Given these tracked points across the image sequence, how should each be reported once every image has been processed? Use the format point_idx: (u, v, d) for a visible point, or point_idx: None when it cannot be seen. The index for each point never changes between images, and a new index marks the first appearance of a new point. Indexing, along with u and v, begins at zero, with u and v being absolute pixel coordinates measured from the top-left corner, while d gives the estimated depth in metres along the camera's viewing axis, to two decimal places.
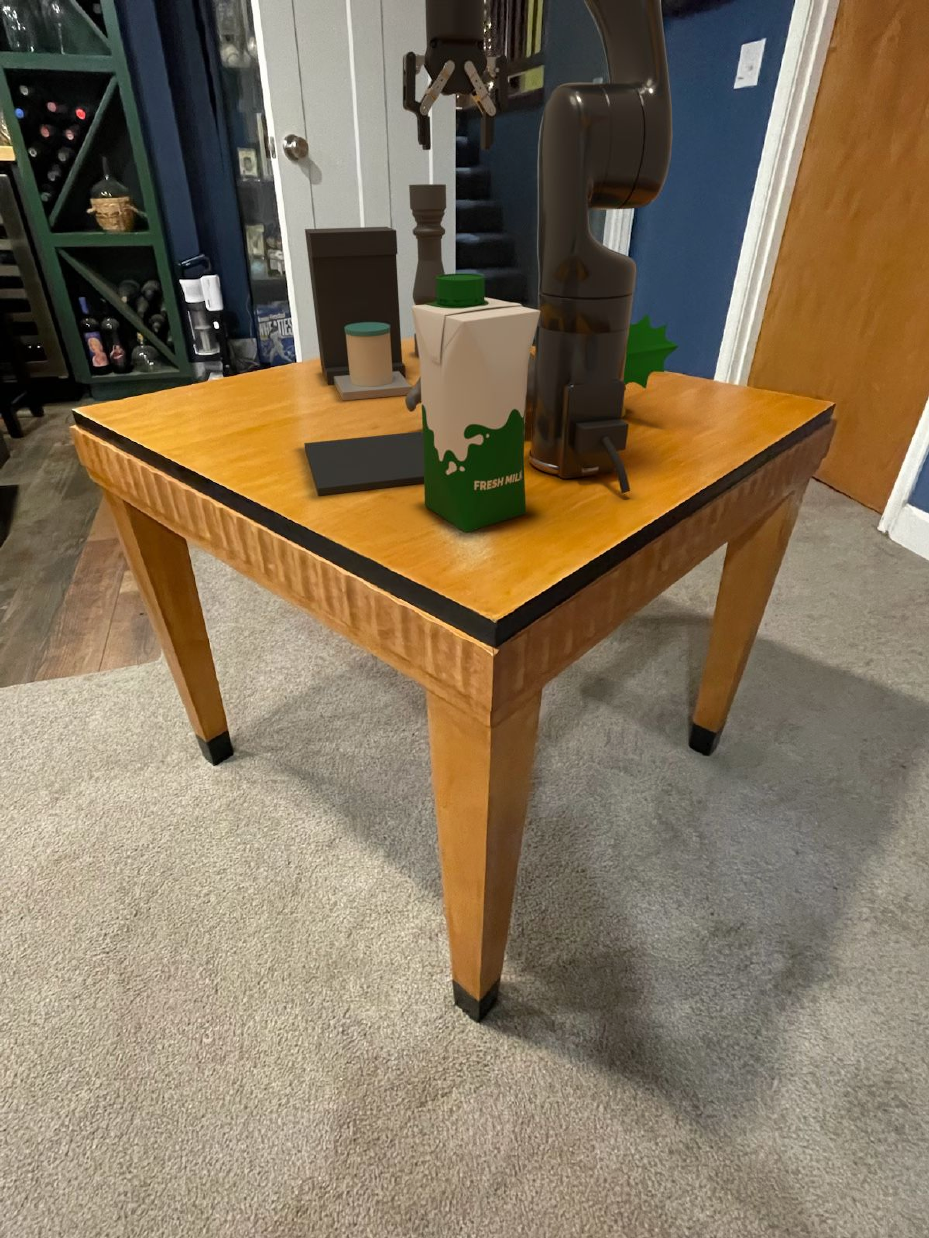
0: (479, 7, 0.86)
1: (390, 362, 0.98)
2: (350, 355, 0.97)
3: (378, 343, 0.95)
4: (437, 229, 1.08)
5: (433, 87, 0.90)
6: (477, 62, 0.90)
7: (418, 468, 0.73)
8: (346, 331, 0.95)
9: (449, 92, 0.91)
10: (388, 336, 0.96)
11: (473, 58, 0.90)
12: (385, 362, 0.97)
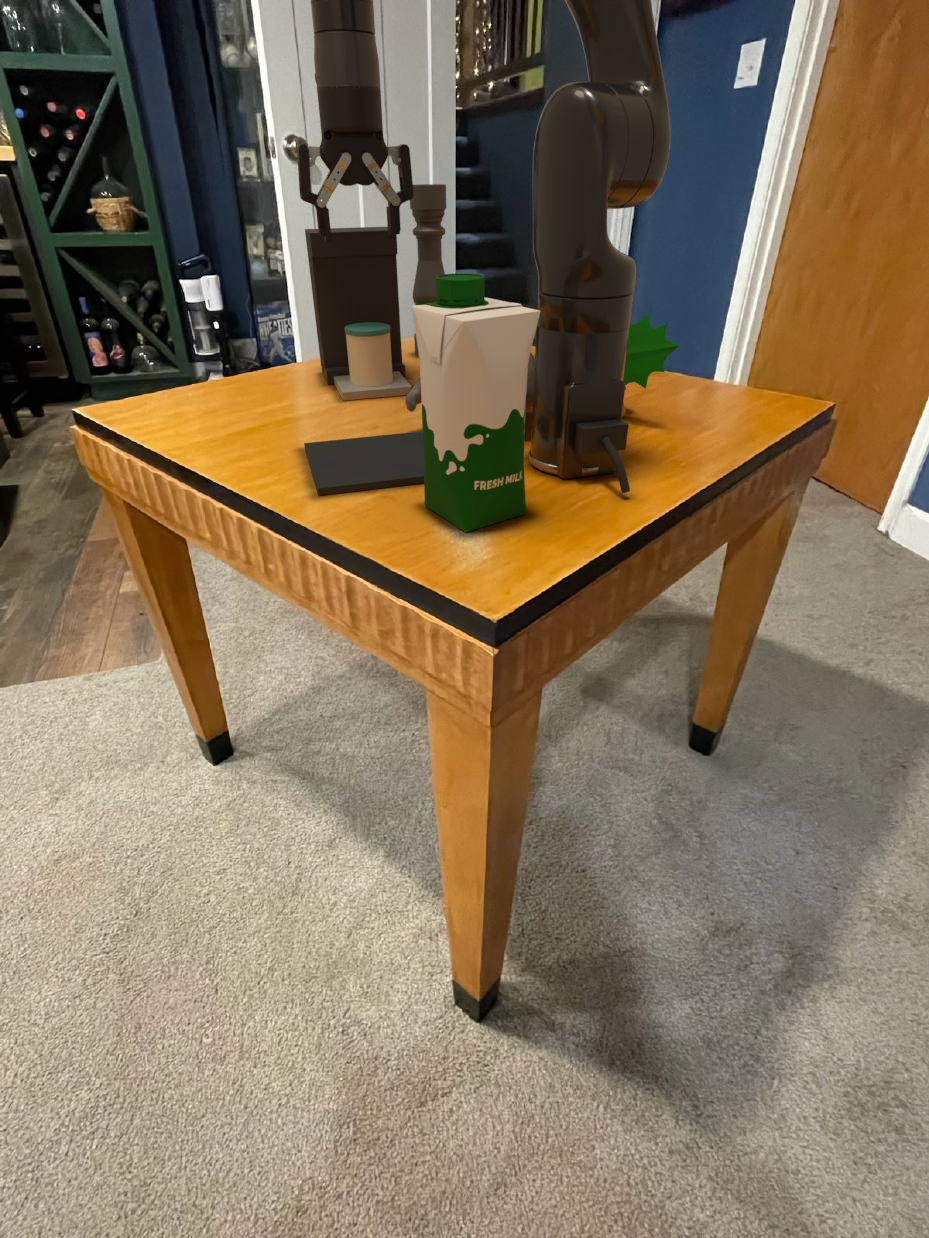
0: (373, 99, 0.81)
1: (390, 362, 0.98)
2: (350, 355, 0.97)
3: (378, 343, 0.95)
4: (437, 229, 1.08)
5: (329, 179, 0.85)
6: (377, 152, 0.85)
7: (418, 468, 0.73)
8: (346, 331, 0.95)
9: (348, 183, 0.86)
10: (388, 336, 0.96)
11: (372, 149, 0.85)
12: (385, 362, 0.97)
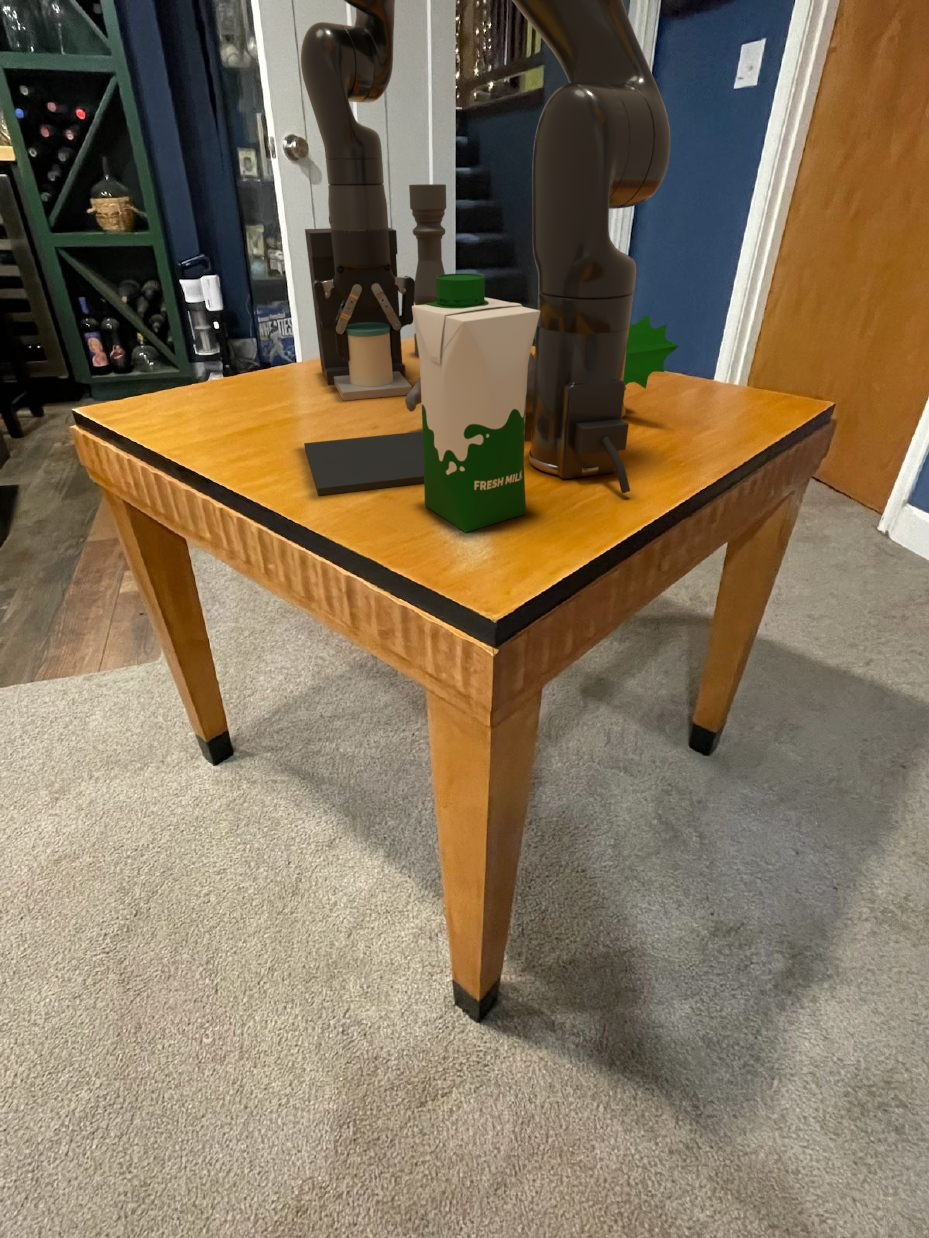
0: (382, 239, 0.89)
1: (390, 362, 0.98)
2: (350, 355, 0.97)
3: (378, 343, 0.95)
4: (437, 229, 1.08)
5: (344, 309, 0.93)
6: (385, 282, 0.93)
7: (418, 468, 0.73)
8: (346, 331, 0.95)
9: (358, 308, 0.94)
10: (388, 336, 0.96)
11: (380, 279, 0.93)
12: (385, 362, 0.97)
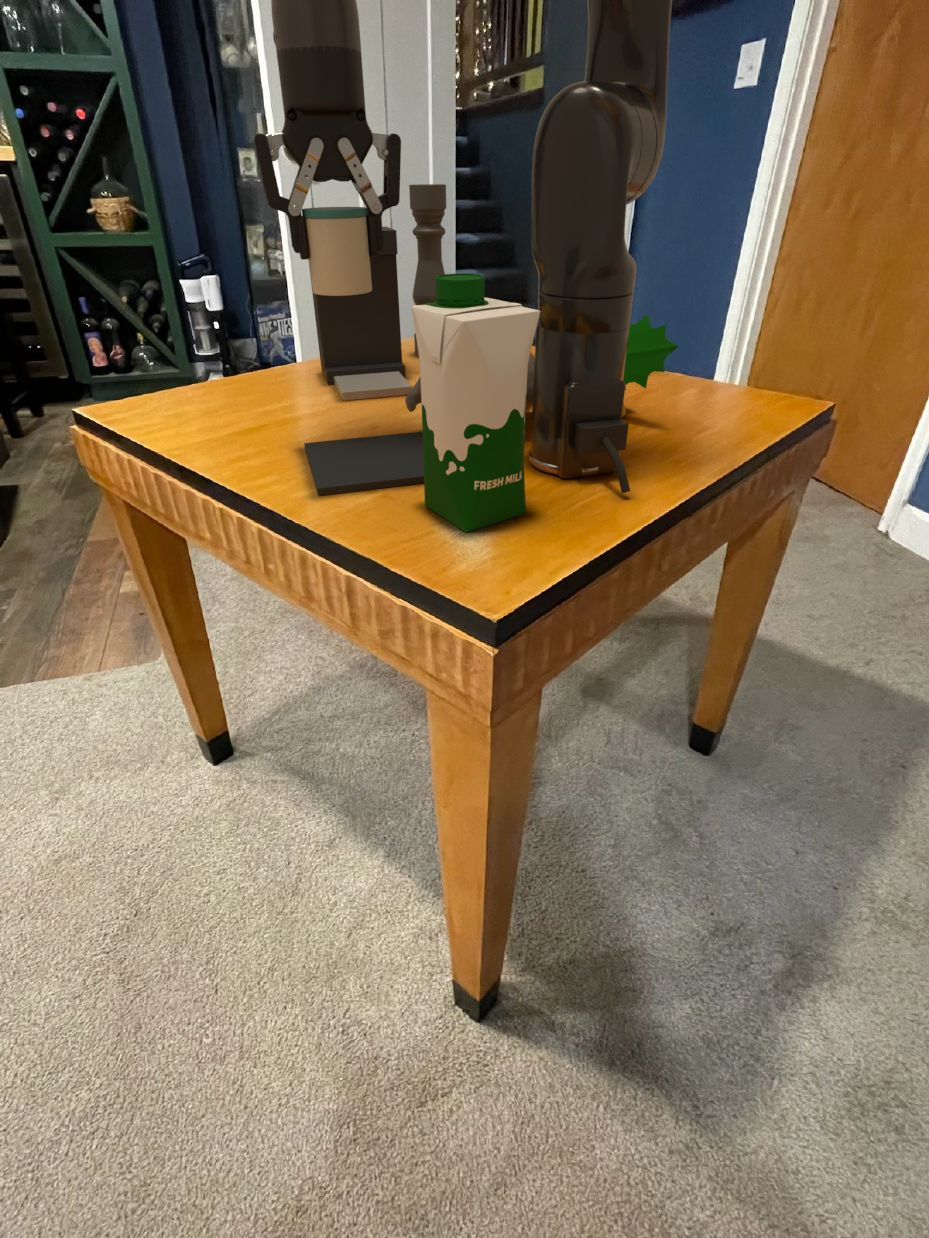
0: (351, 65, 0.60)
1: (367, 262, 0.70)
2: (310, 250, 0.69)
3: (349, 230, 0.67)
4: (437, 229, 1.08)
5: (300, 178, 0.65)
6: (358, 138, 0.65)
7: (418, 468, 0.73)
8: (304, 213, 0.67)
9: (320, 179, 0.66)
10: (364, 222, 0.68)
11: (351, 133, 0.64)
12: (359, 259, 0.69)
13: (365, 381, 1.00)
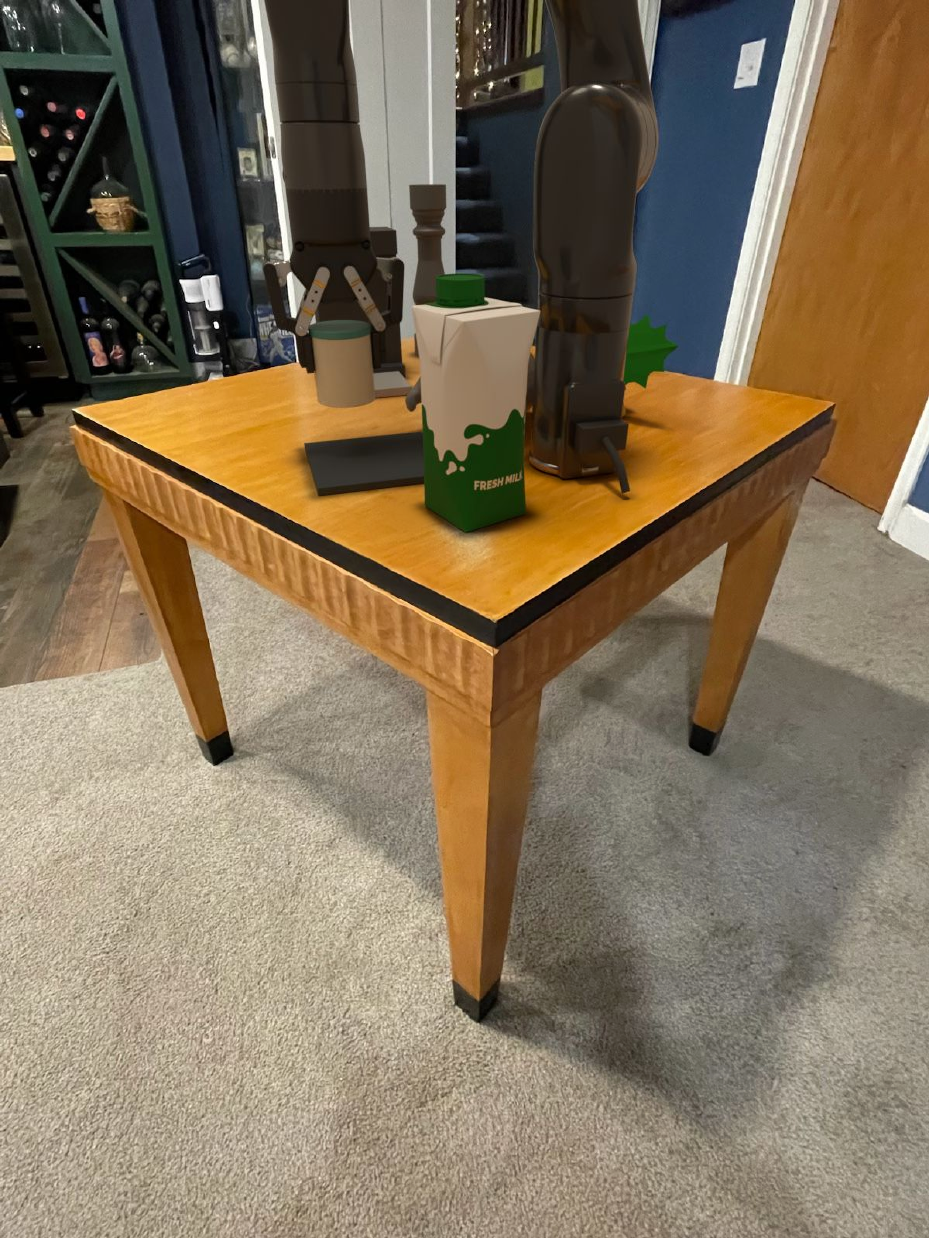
0: (358, 203, 0.63)
1: (371, 374, 0.73)
2: (315, 365, 0.71)
3: (353, 349, 0.69)
4: (437, 229, 1.08)
5: (307, 302, 0.67)
6: (363, 264, 0.67)
7: (418, 468, 0.73)
8: (310, 332, 0.69)
9: (326, 301, 0.68)
10: (368, 339, 0.70)
11: (357, 260, 0.67)
12: (363, 374, 0.71)
13: None
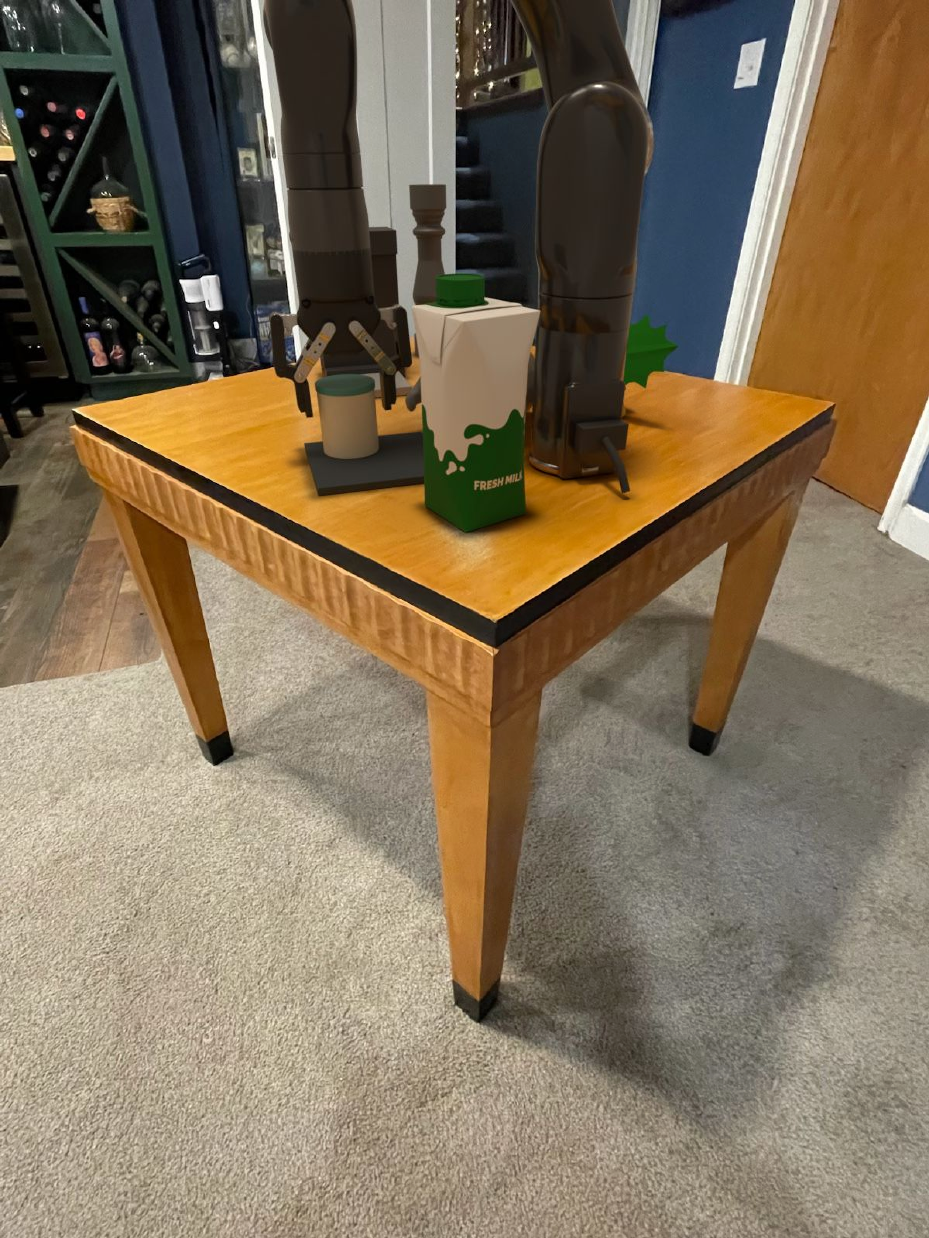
0: (362, 263, 0.65)
1: (375, 426, 0.76)
2: (322, 418, 0.74)
3: (358, 404, 0.72)
4: (437, 229, 1.08)
5: (309, 352, 0.69)
6: (367, 318, 0.70)
7: (418, 468, 0.73)
8: (316, 388, 0.72)
9: (332, 354, 0.71)
10: (372, 394, 0.74)
11: (361, 314, 0.69)
12: (368, 427, 0.74)
13: None
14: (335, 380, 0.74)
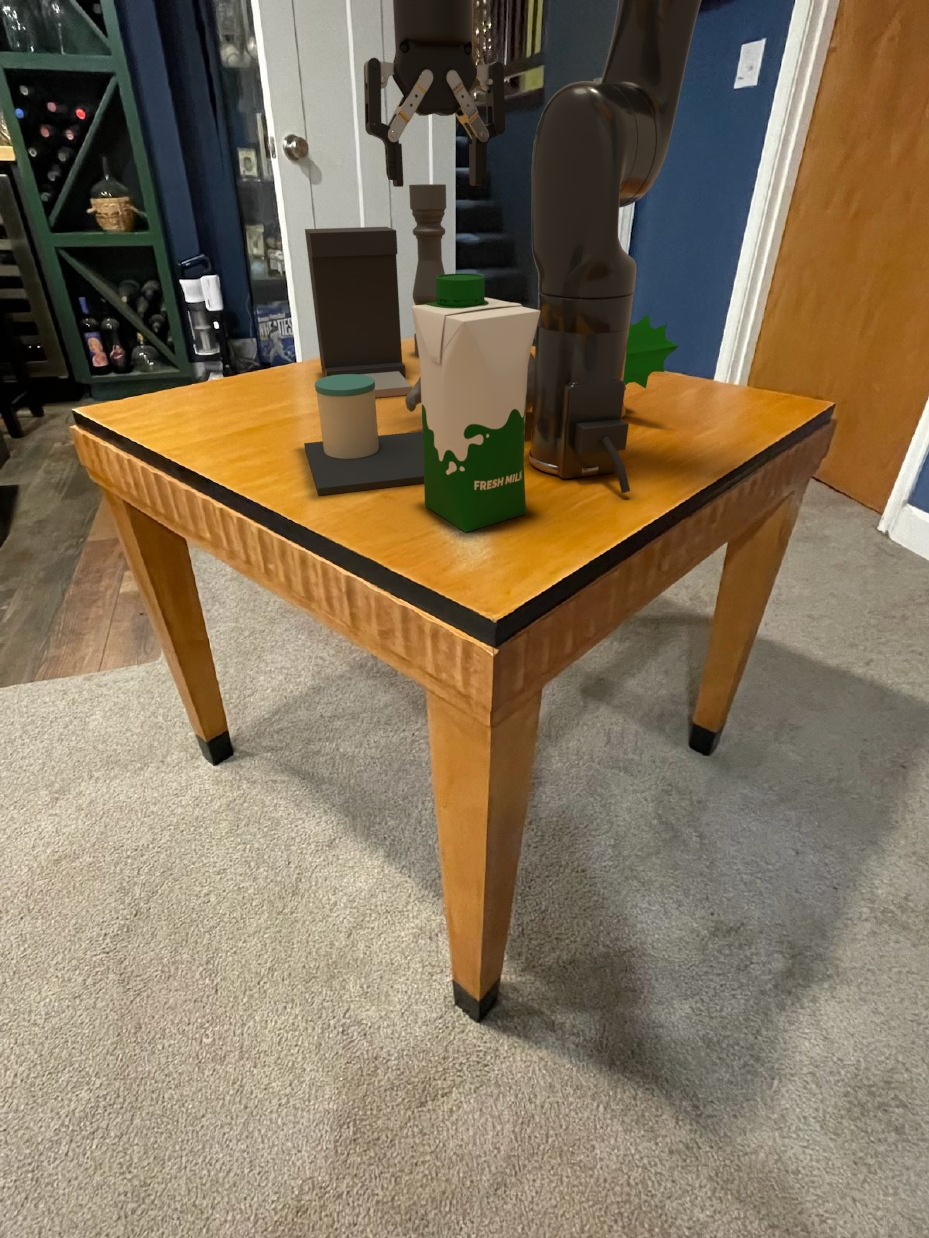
0: None
1: (375, 426, 0.76)
2: (322, 418, 0.74)
3: (358, 404, 0.72)
4: (437, 229, 1.08)
5: (405, 105, 0.67)
6: (464, 71, 0.68)
7: (418, 468, 0.73)
8: (316, 388, 0.72)
9: (427, 111, 0.69)
10: (372, 394, 0.74)
11: (458, 66, 0.67)
12: (368, 427, 0.74)
13: None
14: (335, 380, 0.74)
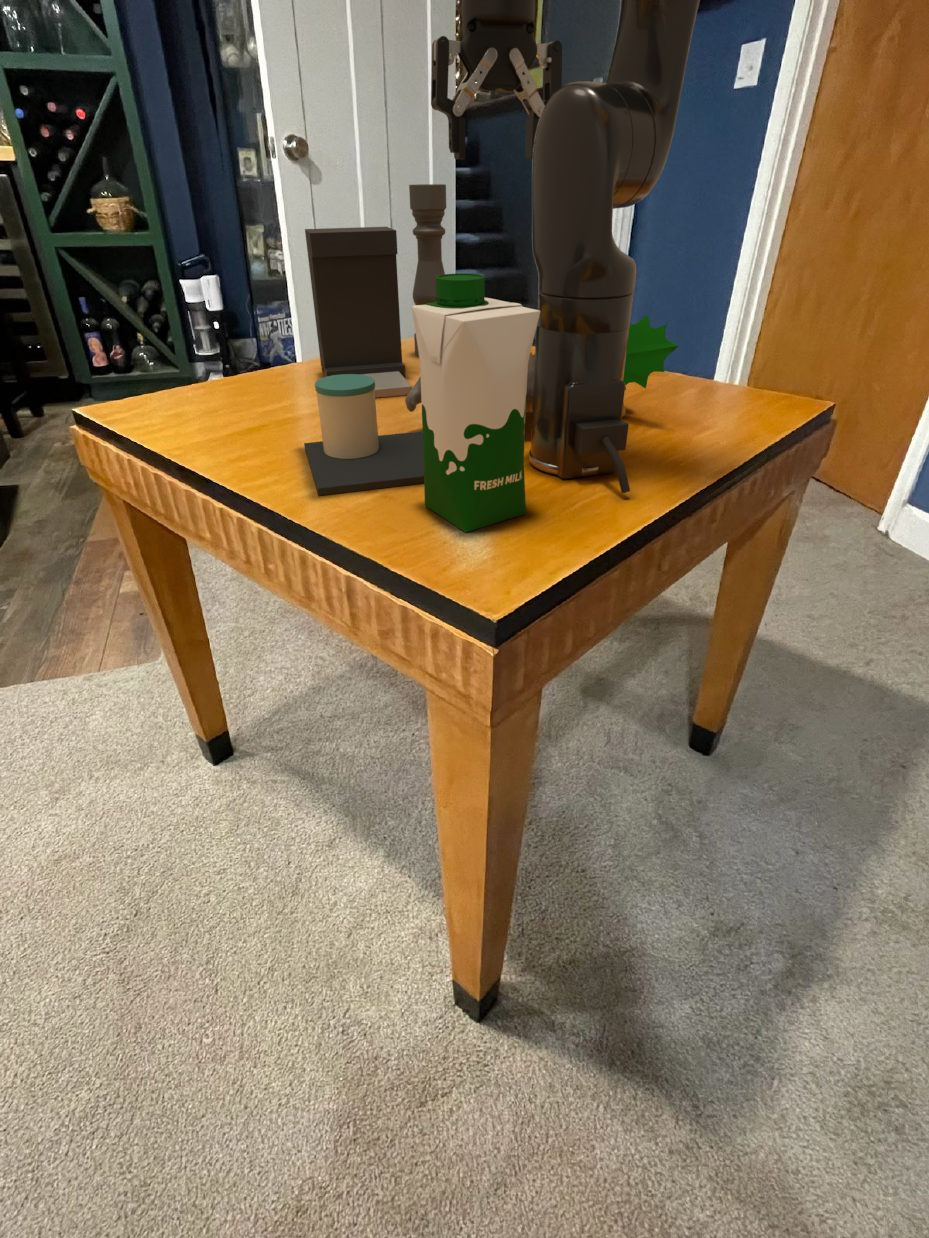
0: None
1: (375, 426, 0.76)
2: (322, 418, 0.74)
3: (358, 404, 0.72)
4: (437, 229, 1.08)
5: (470, 81, 0.72)
6: (525, 50, 0.72)
7: (418, 468, 0.73)
8: (316, 388, 0.72)
9: (489, 87, 0.73)
10: (372, 394, 0.74)
11: (520, 45, 0.72)
12: (368, 427, 0.74)
13: None
14: (335, 380, 0.74)
